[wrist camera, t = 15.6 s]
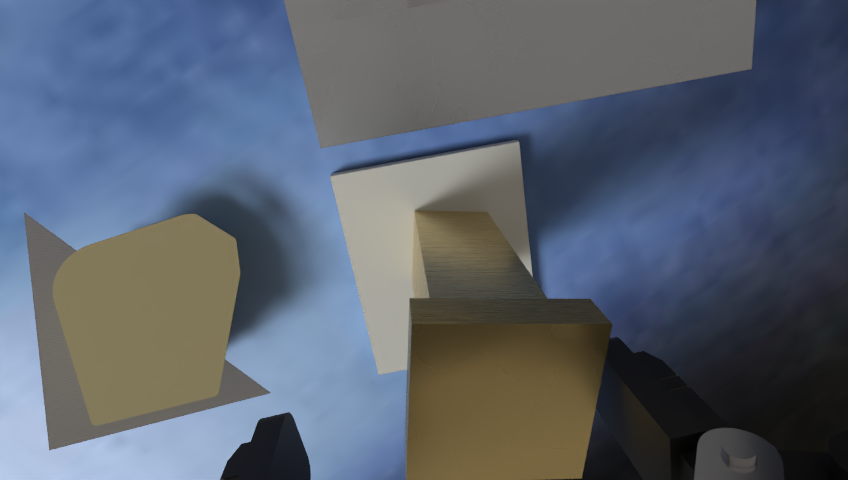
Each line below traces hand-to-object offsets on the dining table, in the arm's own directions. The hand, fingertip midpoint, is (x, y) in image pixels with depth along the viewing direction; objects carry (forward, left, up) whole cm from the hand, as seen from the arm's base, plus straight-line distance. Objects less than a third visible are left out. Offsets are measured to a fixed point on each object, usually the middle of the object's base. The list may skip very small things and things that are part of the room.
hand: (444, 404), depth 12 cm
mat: (0, -1, -10) cm, 10 cm away
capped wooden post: (+1, -1, -9) cm, 9 cm away
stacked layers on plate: (0, +12, -10) cm, 16 cm away
